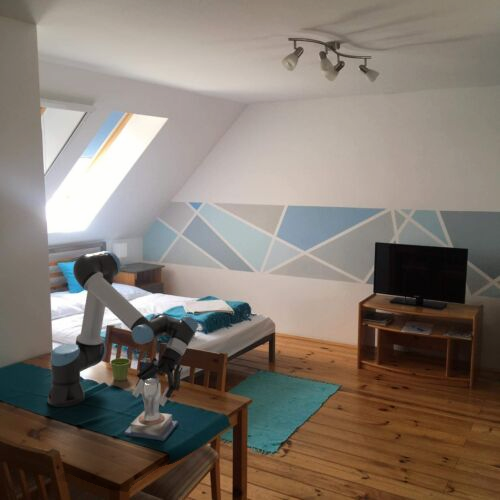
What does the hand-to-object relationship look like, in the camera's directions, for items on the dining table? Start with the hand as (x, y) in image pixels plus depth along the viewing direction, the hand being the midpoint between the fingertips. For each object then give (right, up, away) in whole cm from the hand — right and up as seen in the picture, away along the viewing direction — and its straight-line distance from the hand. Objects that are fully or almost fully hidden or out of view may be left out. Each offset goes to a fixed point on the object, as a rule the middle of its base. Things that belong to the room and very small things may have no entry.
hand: (147, 400), depth 207 cm
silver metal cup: (+1, -8, +3) cm, 9 cm away
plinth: (+1, -11, +4) cm, 12 cm away
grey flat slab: (+1, -12, +4) cm, 13 cm away
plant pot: (-23, -5, +54) cm, 59 cm away
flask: (-10, -5, +54) cm, 55 cm away
